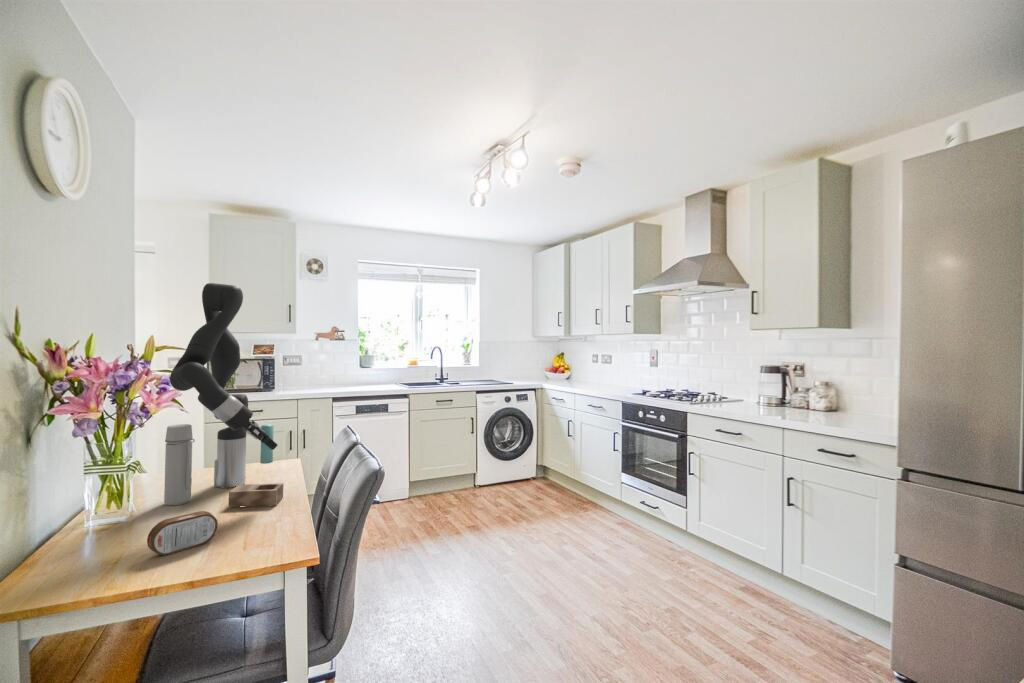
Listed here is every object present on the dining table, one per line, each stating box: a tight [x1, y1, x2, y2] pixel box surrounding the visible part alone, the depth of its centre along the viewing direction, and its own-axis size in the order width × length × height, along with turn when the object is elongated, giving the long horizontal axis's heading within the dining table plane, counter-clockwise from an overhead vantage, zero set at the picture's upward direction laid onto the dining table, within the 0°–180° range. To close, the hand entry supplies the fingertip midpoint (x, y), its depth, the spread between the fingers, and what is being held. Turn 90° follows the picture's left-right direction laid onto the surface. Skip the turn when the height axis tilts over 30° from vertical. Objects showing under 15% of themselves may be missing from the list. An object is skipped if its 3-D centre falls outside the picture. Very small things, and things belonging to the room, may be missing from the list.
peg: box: [259, 424, 275, 465], centre depth 155 cm, size 4×4×12 cm
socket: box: [228, 482, 284, 508], centre depth 156 cm, size 14×8×5 cm, turn 101°
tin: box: [146, 510, 219, 556], centre depth 120 cm, size 15×3×8 cm, turn 145°
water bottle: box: [163, 423, 195, 506], centre depth 154 cm, size 9×8×25 cm
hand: (273, 446), depth 157 cm, fingers closed on peg, 3 cm apart
